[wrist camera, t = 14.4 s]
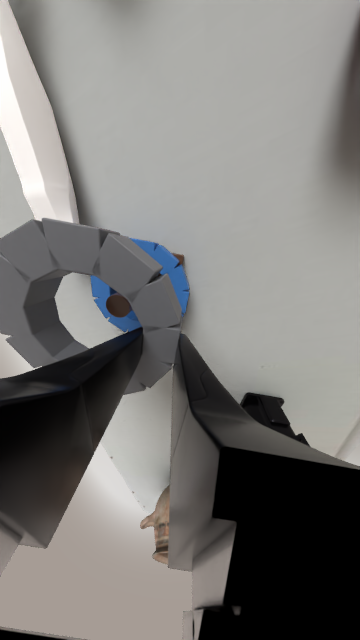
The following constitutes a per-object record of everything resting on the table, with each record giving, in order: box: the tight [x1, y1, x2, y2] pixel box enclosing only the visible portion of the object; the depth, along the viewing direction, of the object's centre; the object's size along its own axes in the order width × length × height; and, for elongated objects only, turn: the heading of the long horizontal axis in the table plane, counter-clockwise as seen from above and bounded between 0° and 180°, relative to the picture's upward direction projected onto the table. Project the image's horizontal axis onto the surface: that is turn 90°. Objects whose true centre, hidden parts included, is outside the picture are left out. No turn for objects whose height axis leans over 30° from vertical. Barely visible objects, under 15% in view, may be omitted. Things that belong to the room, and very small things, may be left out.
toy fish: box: [0, 0, 79, 224], centre depth 11 cm, size 6×18×4 cm, turn 4°
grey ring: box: [0, 218, 183, 395], centre depth 9 cm, size 10×10×2 cm
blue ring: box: [91, 238, 189, 332], centre depth 16 cm, size 10×10×2 cm
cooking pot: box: [140, 485, 170, 565], centre depth 36 cm, size 25×19×12 cm
